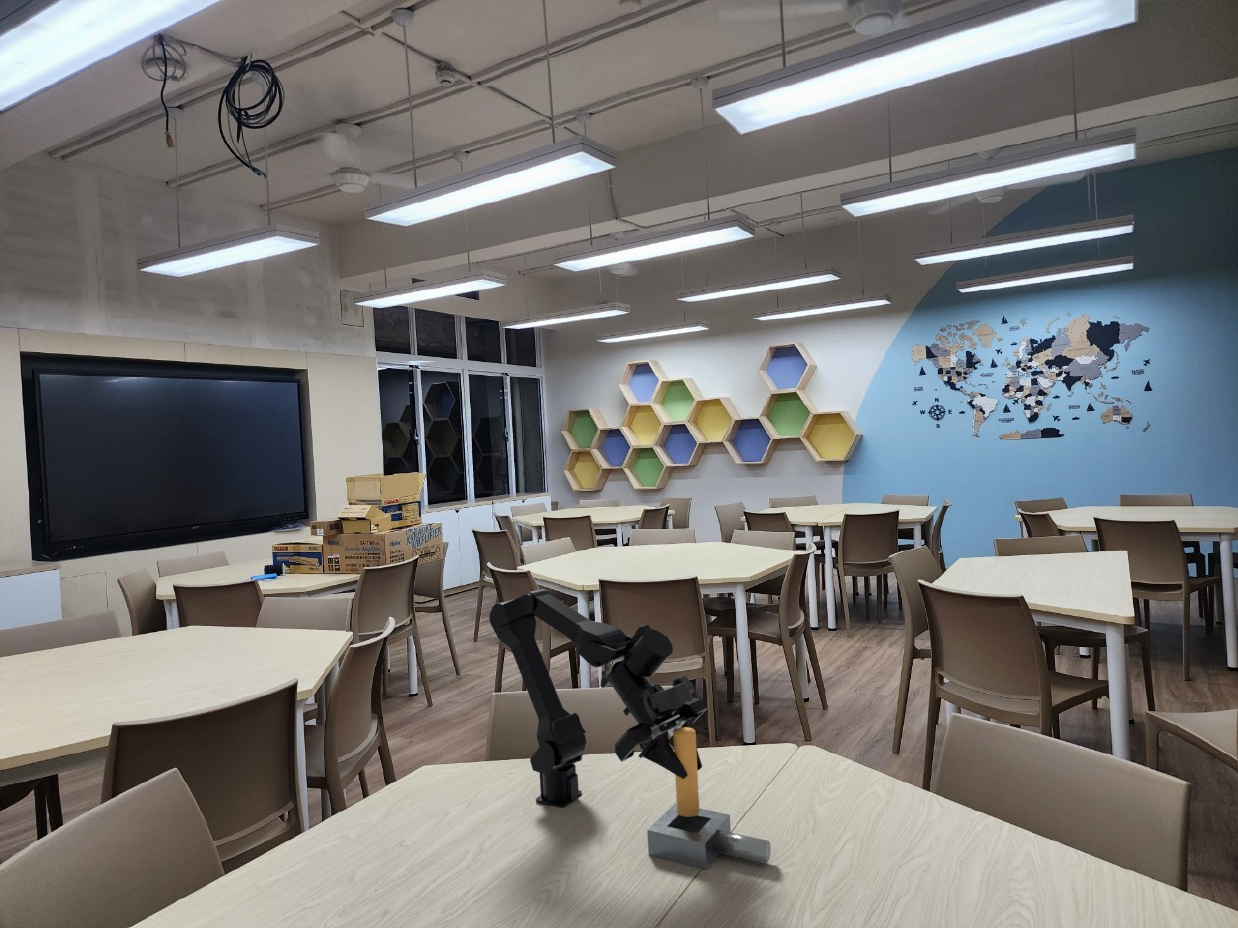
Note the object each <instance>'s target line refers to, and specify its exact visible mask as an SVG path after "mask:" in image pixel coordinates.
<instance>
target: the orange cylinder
mask: <svg viewBox="0 0 1238 928" xmlns="http://www.w3.org/2000/svg"><path fill="white" fill-rule="evenodd" d="M673 738H674V747H673V751H674V752H675V754H676V755H677V757H678V758H679V760H680V762H681V763H682V765H683V766H684V768H685V770H686V772H687V774H688V776H687V777H686V778H685V779H682V778H680V777H679V776H677V775H675V774H674V775H675V777H674V778H675V792H676V795H675V796H676V797H675V798H676V804H677V813H678V814H679V815H681V816H685V817H691V816H695V815H697V814H699V808H700V798H699V797H700V796H699V777H698V773H699V772H698V771H699V770H697V751H698V750H697V751H696V748H697V734H696V730H695V729H694V728H693V729H692V728H688V727H682V728H677V729H675V730H674V731H673Z"/></svg>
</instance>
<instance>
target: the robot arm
mask: <svg viewBox="0 0 1238 928" xmlns="http://www.w3.org/2000/svg"><path fill="white" fill-rule="evenodd" d="M536 617H537V619H539V620H541V621H542V622H544V623H545V624H546V625H548V626H549V627H551V628H552V629H554V630H555V631H557V632H558V633H559V634H561V635H562V636H564V637H565V638H566V639H568V640H570V641H571V642H572V643H573V644H574V646H575V648H576V651H577V653H578V654H579V655H580V657H582V658H583V660H584V661H585V662H586V663H588V665H590V666H591V667H593V668H601V667H603V666H606V665H608V664H611V663H613V665H612V666H611V667H610V668H608V669H605V670H602V671H601V679H600V687H601V689H603V688H606V687H609V686H612V688H613V690H614V691H615V693H616V694H617V696H618V697H619V699H620V701H622V703H623V704H624V705H625V708H624V709H623V710H622V712H623V714H624V715H625V717H627V716H630V715H631V716H632V718H633V720H634V721H635V722H636V723H637V724H636V725H634V726H631V727H629V728H628V729H626V731H625V732H624V733H623V734H622V735H621V737H619V739H618V740H617V741H616V742H615V743H614V753H615V755H616V756H617V757H618V759H619V760H620V762H621V763H623V762H625V761H627V760H628V759H630V758H632V757H633V756H634V755H635V749H636V747H638V746H640V747H639V749H641V752H640V753H639V754H638V755H637V756H638V758H640V759H641V758H644V759H646V760H648V761H650V762H652V763H654V764H657V765H658V766H660V767H662V768H663V769H666V770H667V771H669V772H671V774H674V775H677V776H679V777H680V778H682V779H685V778H686V777H687V776H688V774H687V772H686V770H685V768H684V766H683V765H682V763H681V762H680V760H679V758H678V757H677V755H676V754H675V752H674V738H673V731H674V730H675V729H677V728H682V727H688V728H692V729H694V724H695V723H696V721H697V720H698V719H699V718H700V717H701V716H702V715H703V714H704V713H705V712H706V710H707V709H708V707H707V706H706V705H705V703H704V702H703V700H702V699H700V698H698V697H697V698H696V697H694V698H693V696H692V694H694V692H695V686H694V684H693V683H692V681H691V680H690V679H689V678H688V676H686V675H683V676H680V677H677V678H675V679H673V682H672V684H673V685H672V686H671V687H669V688H665V689H664V688H663V687H662V685H661V684H659V683H657V684H655V685H654V684H652V682H651V681H650V679H649V677H652V676H654V675H655V673H657V671H658V670H659V669H660V668H661V666H662V665H663V664H664V663H665V662H666V661H667V660H668V658H670V656H671V655H672V654H673V651H674V650H673V649H674V648H673V644H672V641H671V640H670V638H669V637H668V636H667V635H664V634H663V633H662V632H661V631H658V630H657V629H652V628H651V626H650V625H649V624H643V625H641V626H639V627H638V628H637V629H636V631H635V633H634V635H633V636H630V635H628V634H625V633H624V631H623V630H622V629H621V628H619V627H616V626H613V625H610V624H608V623H606V622H605V623H604V622H599V621H593V620H591V619H589V618H587V617H586V616H584V615H583V614H581V613H579V612H578V611H576V610H575V609H573V608H572V607H571V606H569V605H568V604H566V603H564V602H563V601H562V600H560V599H558V598H557V597H555V596H553V595H552V594H551V592H550V591H549V590H547V589H544V588H541V589H536V590H533V591H528V592H526V593H525V594H523V595H521V596H519V597H517V598H515V599H511V600H505V601H502V602H498V603H495V604H494V605H493V606H492V607H491V610H490V613H489V616H488V618H489V623H490V625H491V627H492V629H493V631H494V633H495V635H496V637H497V639H498V640H499V641H501V642H502V643H503V644H504V645H506V646H507V647H508V648H509V649H510V650H511V652H512V655H513V657H514V658H513V659H514V660H515V662H516V665H517V667H518V670H519V673H520V676H521V678H522V681H523V683H524V686H525V688H526V691H527V693H528V695H529V698H530V701H531V703H532V707H533V708H534V711H535V713H536V717H537V719H538V723H537V724H538V725H537V729H536V730H537V731H536V740H537V744H538V749H537V750H536V751H535V752H534V754H533V755H532V756H531V757H530V759H529V761H530V765H531V769H532V771H533V772H537V773H538V774H539V787H540V788H539V789H540V795H539V796H537V797H536V798H535V802H536V803H539V804H545V805H549V806H553V807H558V808H566V807H567V806H568V805H570V804H571V803H573V802H574V801H575V800H577V799H578V798H579V797H580V796H581V795H582V793H583V792H582V790H579V789H580V788H579V775H578V773H577V771H576V770H577V769H576V766H577V765H576V763H578V762H581V761H582V760H583V754H584V752H585V750H586V745H587V738H586V733H587V732H586V729H584V727H583V725H582V722H581V720H580V716H579V714H578V713H577V712H574V713H570V712H569V711H567V710H566V709H564V707H563V705H562V702H561V700H560V697H559V695H558V692H557V690H556V687H555V685H554V683H553V679H552V678H551V675H550V673H549V670H548V668H547V665H546V663H545V660H544V657H543V656H542V653H541V651H540V648H539V646H538V643H537V641H536V640H537V639H536V631H537V624H538V623H537V619H536ZM622 659H623V660H622ZM614 662H615V663H614ZM669 735H670V737H669ZM696 751H697V771H700V770H701V769H702V768H703V763H702V761H701V758H700V754H699V751H698V749H697V747H696Z"/></svg>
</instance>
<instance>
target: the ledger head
mask: <svg viewBox="0 0 1238 928" xmlns="http://www.w3.org/2000/svg"><path fill="white" fill-rule="evenodd" d="M731 829H732V828H731V814H729V813H723V812H719V811H713V810H708V809H704V808H700V807H699V814H697V815H695V816H691V817H685V816H681V815H679V814H678V813H677V802H675V803H673V805H671V807H669V809H668V810H666V811H665V813H663V814H662V815H661V816H660V817H659V818H658V819H657V820H656V821H655V822H654V823H653V824H652V825H651V826H650V827H648V829H647V830H646V832H647V845H648V847H647V850H648V855H649V856H651V857H656V858H660V859H664V860H667V861H671V862H676V863H679V864H683V865H688V866H692V867H696V868H699V869H703V870H708V869H709V867H710V866H711V864H712V863H713V862H714V861H715V859H716V858H717V857H718V856H719V855H720V854H722V855H723V854H724V855H728V856H731V857H736V858H740V859H745V860H748V861H752V862H758V863H762V864H764V865H765V864H766V865H767V864H768V862H770V858H771V849H772V847H771V846H772V845H771V841H769V840H766V839H762V838H757V837H753V836H748V835H744V834H739V833H734V832H731V831H732V830H731Z"/></svg>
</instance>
